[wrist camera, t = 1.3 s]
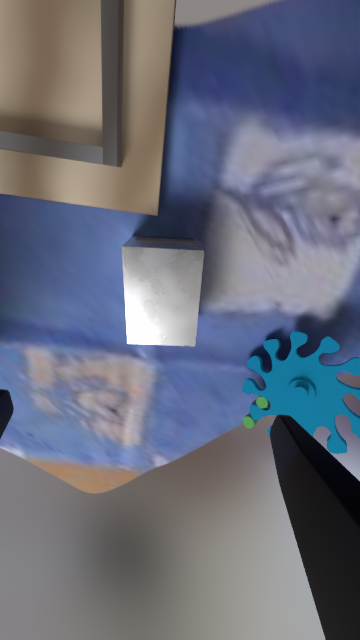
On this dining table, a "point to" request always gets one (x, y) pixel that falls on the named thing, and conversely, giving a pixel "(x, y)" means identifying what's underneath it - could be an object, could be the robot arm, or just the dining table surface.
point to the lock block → (162, 289)
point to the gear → (303, 389)
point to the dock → (85, 100)
